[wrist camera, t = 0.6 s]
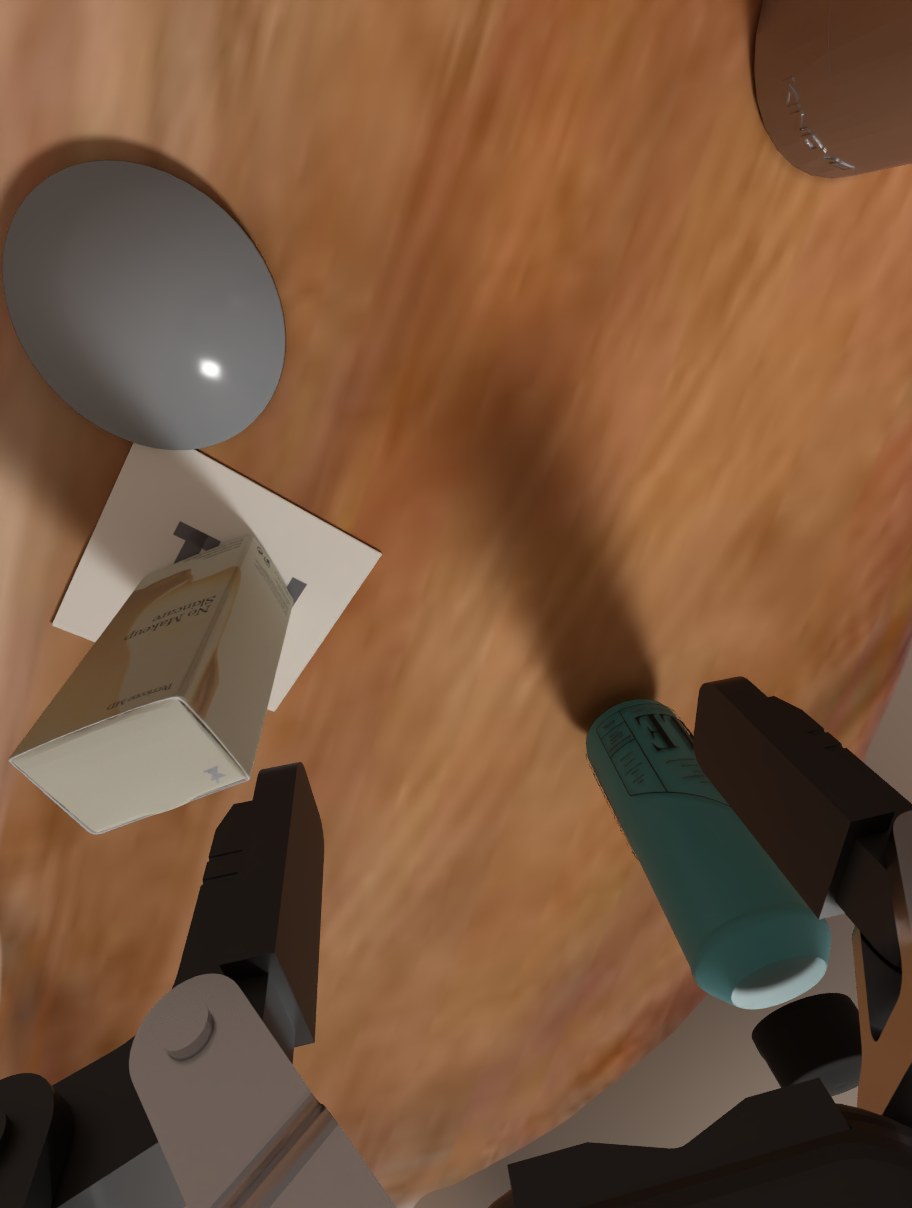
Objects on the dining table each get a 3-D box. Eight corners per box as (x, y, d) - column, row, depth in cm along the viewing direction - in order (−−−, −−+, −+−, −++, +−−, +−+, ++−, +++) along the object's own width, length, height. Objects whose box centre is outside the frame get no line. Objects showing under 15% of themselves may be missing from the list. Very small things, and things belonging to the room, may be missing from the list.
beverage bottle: (573, 761, 39) (740, 1140, 22) (574, 688, 35) (772, 1069, 18) (662, 744, 39) (894, 1101, 22) (671, 670, 36) (953, 1026, 19)
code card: (143, 420, 24) (142, 421, 24) (382, 553, 29) (382, 554, 29) (52, 624, 28) (51, 625, 28) (274, 710, 33) (274, 712, 33)
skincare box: (254, 529, 27) (187, 688, 17) (297, 600, 29) (262, 779, 19) (135, 577, 27) (-5, 762, 17) (186, 643, 30) (91, 843, 19)
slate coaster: (62, 87, 19) (53, 82, 18) (330, 287, 22) (329, 287, 22) (-23, 355, 22) (-32, 357, 21) (223, 488, 26) (220, 492, 25)
